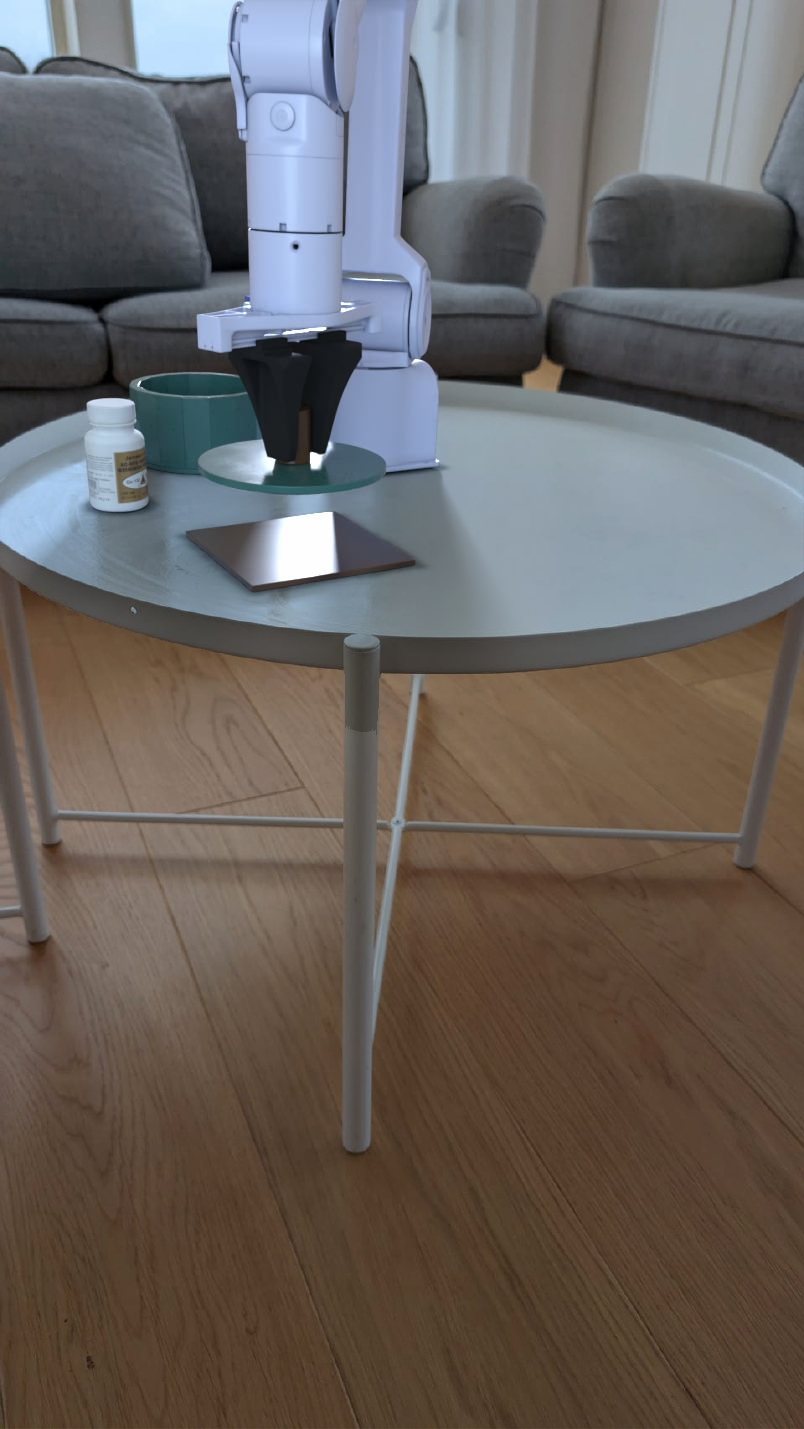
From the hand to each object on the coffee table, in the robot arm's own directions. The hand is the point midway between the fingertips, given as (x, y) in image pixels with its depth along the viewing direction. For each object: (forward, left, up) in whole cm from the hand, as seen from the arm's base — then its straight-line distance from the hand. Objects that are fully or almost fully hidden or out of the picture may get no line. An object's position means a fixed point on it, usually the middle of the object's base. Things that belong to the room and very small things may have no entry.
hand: (297, 455), depth 69 cm
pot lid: (0, 0, -1) cm, 1 cm away
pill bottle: (+8, -15, -7) cm, 18 cm away
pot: (-3, -27, -7) cm, 28 cm away
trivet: (0, 0, -7) cm, 7 cm away
